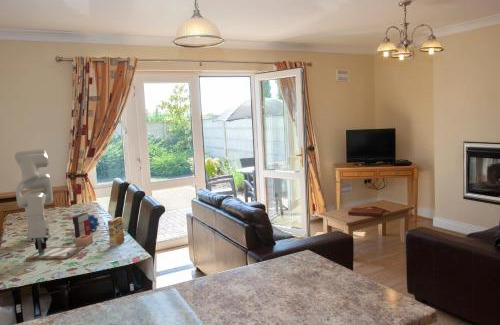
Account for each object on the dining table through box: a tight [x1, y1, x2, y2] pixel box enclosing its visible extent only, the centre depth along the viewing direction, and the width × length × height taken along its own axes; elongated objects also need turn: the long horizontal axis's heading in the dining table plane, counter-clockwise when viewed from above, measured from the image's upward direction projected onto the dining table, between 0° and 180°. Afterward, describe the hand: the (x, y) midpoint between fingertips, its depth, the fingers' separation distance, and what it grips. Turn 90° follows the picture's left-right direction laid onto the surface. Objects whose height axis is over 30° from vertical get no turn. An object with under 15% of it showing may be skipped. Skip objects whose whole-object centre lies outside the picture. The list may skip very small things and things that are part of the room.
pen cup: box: [74, 234, 94, 247], centre depth 232 cm, size 7×7×4 cm
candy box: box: [107, 216, 125, 247], centre depth 229 cm, size 9×4×15 cm, turn 162°
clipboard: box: [25, 246, 86, 261], centre depth 217 cm, size 24×18×2 cm
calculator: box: [72, 212, 91, 239], centre depth 246 cm, size 11×4×15 cm, turn 168°
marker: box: [37, 238, 45, 255], centre depth 214 cm, size 3×3×10 cm
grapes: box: [88, 213, 100, 232], centre depth 261 cm, size 12×7×12 cm, turn 131°
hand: (41, 248), depth 214 cm, fingers closed on marker, 3 cm apart
